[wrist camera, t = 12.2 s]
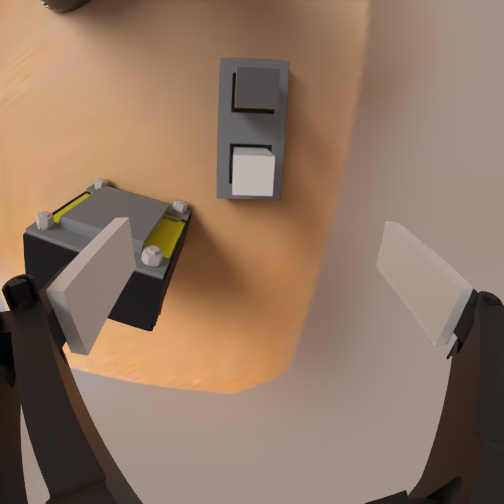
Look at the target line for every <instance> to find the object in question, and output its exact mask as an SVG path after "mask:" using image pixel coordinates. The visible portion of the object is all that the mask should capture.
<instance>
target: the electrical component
mask: <svg viewBox="0 0 504 504" xmlns="http://www.w3.org/2000/svg"><path fill="white" fill-rule="evenodd" d="M187 207H188V204H187V203H186V202H184V201H182V200H175V201H174V203H173V205H170V204H168V203H164V202H161V201H158V200H154V199H151V198H147V197H144V196H140V195H137V194H133V193H130V192H126V191H123V190H119V189H115V188H112V187H108V186H107V180H106V179H104V178H97V179H95V184H94V185H92V186H90V187H89V188H87V189H86V192H84V193H82V194H81V195H79V196H78V197H76V198H74V199H73V200H71V201H70V202H68V203H67V204H65V205H64V206H62V207H61V208H59V209H58V210H56V211H55V212H53V213H50V212H46V211H45V212H40V213H38V214H37V215H36V222H35V223H33V224H32V225H30V226H29V227H28V228H26V232H25V233H24V234H23V242H24V259H25V271H26V274H29V275H32V276H33V278H34V281H35V284H36V287H37V290H38V292H40V291H41V289H42V288H43V287H44V286H45V285H46V284H47V283H48V282H49V281H51V278H52V277H53V276H54V275H55V274H56V273H57V272H58V271H59V270H60V268H61V267H63V266H65V265H66V264H68V263H69V262H72V261H73V260H74V259H75V257H76V256H77V255H78V254H79V253H80V252H81V251H82V250H83V249H84V248H85V247H86V246H87V245H88V244H89V243H90V242H91V241H92V240H93V239H94V238H95V237H96V236H97V235H98V234H99V233H100V232H101V231H102V230H103V229H104V228H105V227H106V226H107V225H108V224H109V223H111V222H112V221H113V220H114V219H115V218H124V217H129V221H130V228H131V236H132V243H133V249H134V256H135V262H136V268H135V269H134V271H133V273H132V274H131V276H130V278H129V280H128V281H127V283H126V285H125V287H124V288H123V290H122V292H121V294H120V295H119V297H118V299H117V301H116V303H115V304H114V306H113V308H112V310H111V312H110V314H109V316H108V317H107V318H109V319H112V320H115V321H118V322H121V323H124V324H127V325H130V326H133V327H137V328H140V329H143V330H147V331H152V330H153V327H154V326H155V325H156V322H157V319H158V316H159V315H160V313H161V309H162V303H163V300H164V298H165V295H166V292H167V289H168V286H169V283H170V280H171V277H172V274H173V272H174V269H175V266H176V263H177V261H178V258H179V255H180V252H181V250H182V247H183V243H184V240H185V236H186V232H187V229H188V225H189V222H190V218H191V215H192V214H190V212H191V210H187Z"/></svg>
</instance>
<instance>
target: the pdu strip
mask: <svg viewBox="0 0 504 504" xmlns="http://www.w3.org/2000/svg"><path fill="white" fill-rule="evenodd" d="M237 67H257V68H272V69H280V78H279V97H278V108H277V109H272V110H249V109H236V108H235V90H236V70H237ZM288 76H289V61H280V60H268V59H251V58H221V67H220V88H219V113H218V148H217V198H222V199H262V200H280V198H281V185H282V172H283V158H284V144H285V128H286V112H287V95H288ZM234 146H259V147H266V148H267V149H268V150H269V151H270V152H271V153H272V154H273V155H275V167H274V181H273V196H252V195H232V176H233V153H234Z"/></svg>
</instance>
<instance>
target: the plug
mask: <svg viewBox="0 0 504 504" xmlns="http://www.w3.org/2000/svg"><path fill="white" fill-rule="evenodd" d="M279 78H280V69H272V68H257V67H237V70H236V90H235V108H236V109H249V110H272V109H277V108H278V97H279Z"/></svg>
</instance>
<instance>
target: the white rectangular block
mask: <svg viewBox="0 0 504 504" xmlns="http://www.w3.org/2000/svg"><path fill="white" fill-rule="evenodd" d="M274 167H275V155H273V154H272V153H271V152H270V151H269V150H268V149H267V148H266V147H259V146H234V153H233V176H232V195H252V196H273V181H274Z"/></svg>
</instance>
